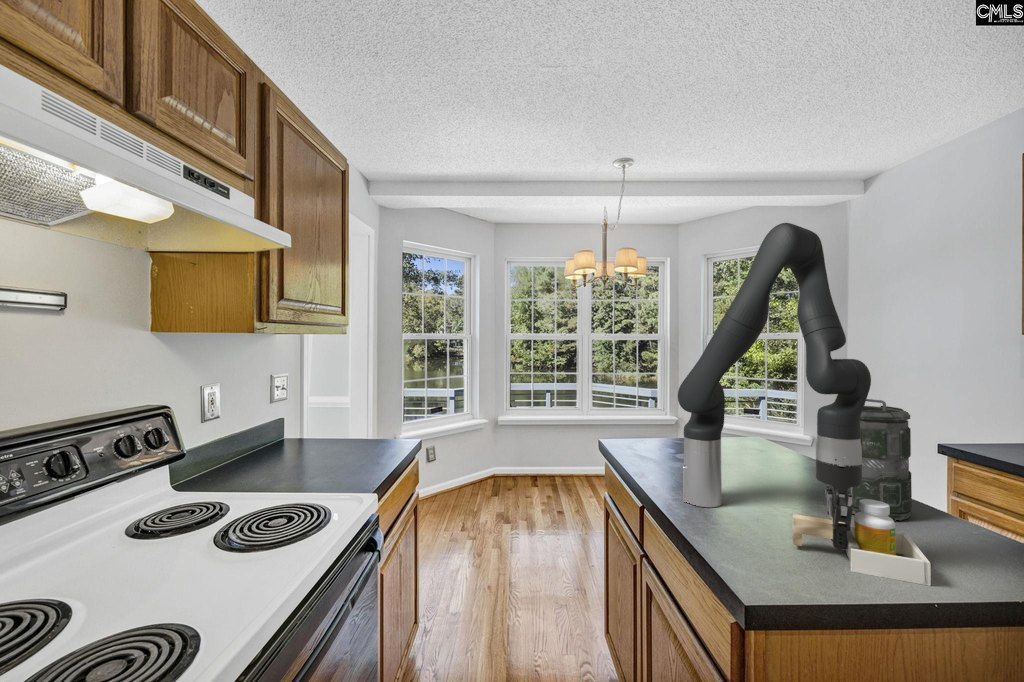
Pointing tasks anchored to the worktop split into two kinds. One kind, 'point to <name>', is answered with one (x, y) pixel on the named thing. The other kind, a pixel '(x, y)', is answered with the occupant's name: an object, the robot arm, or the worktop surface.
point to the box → (894, 562)
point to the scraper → (818, 531)
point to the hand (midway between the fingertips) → (838, 544)
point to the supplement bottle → (874, 527)
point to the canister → (885, 460)
